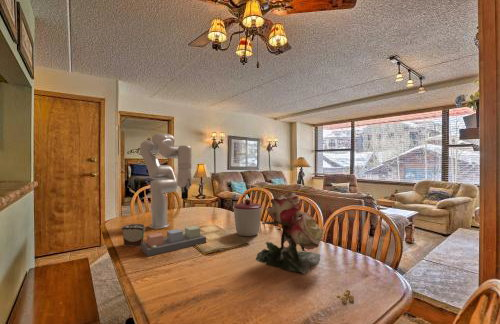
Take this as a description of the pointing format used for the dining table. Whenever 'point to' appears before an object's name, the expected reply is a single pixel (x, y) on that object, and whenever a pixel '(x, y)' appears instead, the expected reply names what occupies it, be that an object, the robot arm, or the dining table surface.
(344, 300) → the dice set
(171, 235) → the button blue
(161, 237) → the button terracotta
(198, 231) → the button sage
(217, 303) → the dining table surface
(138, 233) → the grey rimmed container
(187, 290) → the dining table surface
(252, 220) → the canister
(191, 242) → the console
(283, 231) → the rose bouquet
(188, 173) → the robot arm
